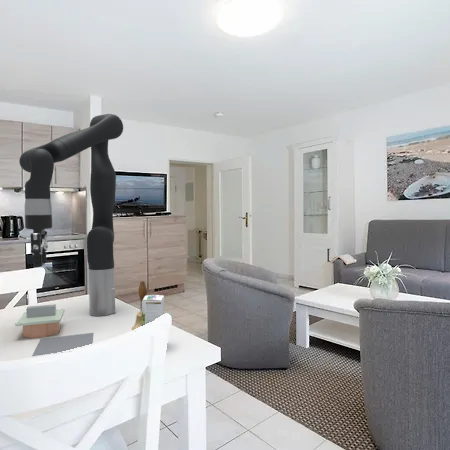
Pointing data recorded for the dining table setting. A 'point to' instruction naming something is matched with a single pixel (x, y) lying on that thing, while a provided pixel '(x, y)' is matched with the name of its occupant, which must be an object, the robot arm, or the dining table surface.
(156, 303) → the syrup box
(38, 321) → the cover sheet
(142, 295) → the hand bell
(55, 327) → the bowl
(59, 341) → the mat
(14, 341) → the dining table surface
